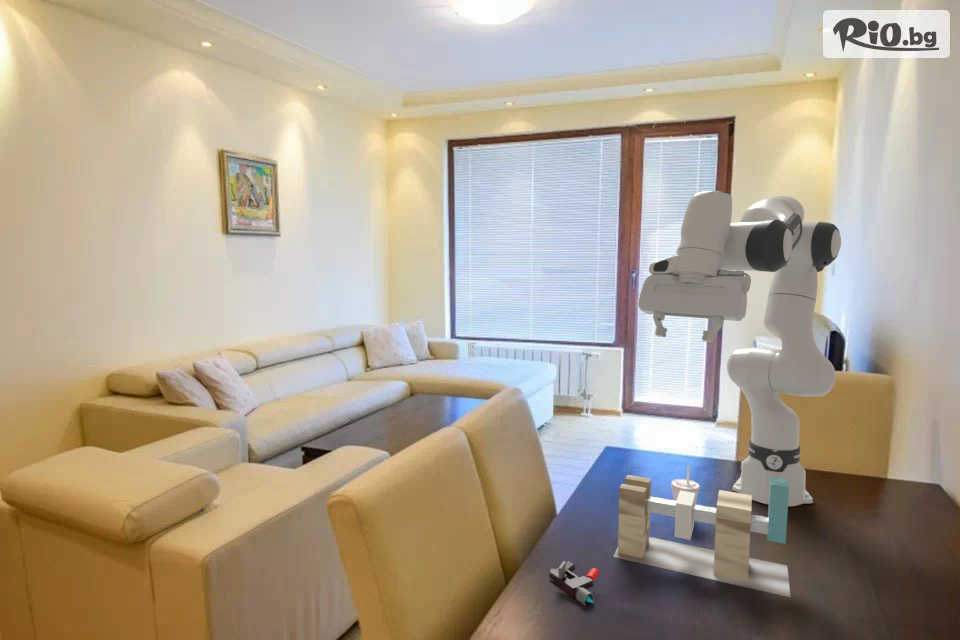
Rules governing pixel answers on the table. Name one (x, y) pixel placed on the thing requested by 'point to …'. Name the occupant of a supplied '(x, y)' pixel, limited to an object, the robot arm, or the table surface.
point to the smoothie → (684, 486)
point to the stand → (712, 564)
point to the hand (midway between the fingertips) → (683, 338)
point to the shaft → (766, 525)
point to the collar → (684, 515)
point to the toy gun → (574, 582)
